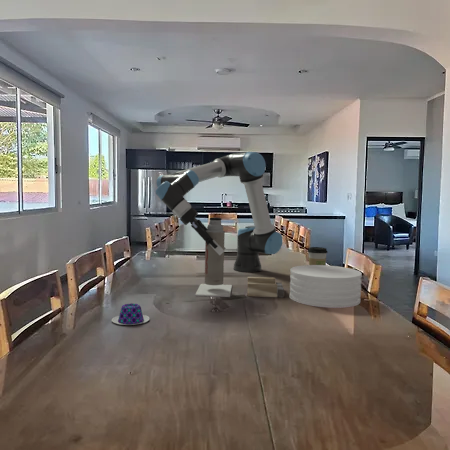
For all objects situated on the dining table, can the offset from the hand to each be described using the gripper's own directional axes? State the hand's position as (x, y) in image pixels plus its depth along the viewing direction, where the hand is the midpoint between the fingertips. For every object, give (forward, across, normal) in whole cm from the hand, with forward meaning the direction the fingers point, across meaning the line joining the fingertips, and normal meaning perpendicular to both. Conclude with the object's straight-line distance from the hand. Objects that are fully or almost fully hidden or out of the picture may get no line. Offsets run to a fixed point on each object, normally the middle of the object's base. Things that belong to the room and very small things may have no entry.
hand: (222, 251), depth 180 cm
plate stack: (+42, +6, +18) cm, 46 cm away
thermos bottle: (+7, 0, -12) cm, 14 cm away
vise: (+25, 0, +1) cm, 25 cm away
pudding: (-6, +45, -31) cm, 55 cm away
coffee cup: (+44, -37, +20) cm, 61 cm away
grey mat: (+10, 0, -14) cm, 17 cm away
